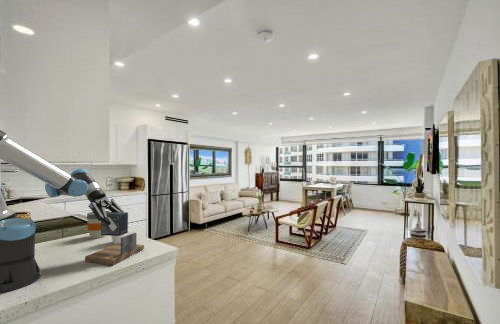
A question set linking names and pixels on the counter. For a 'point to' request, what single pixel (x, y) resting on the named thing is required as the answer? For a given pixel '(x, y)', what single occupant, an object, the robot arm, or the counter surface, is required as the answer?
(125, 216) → the small box
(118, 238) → the foam cup
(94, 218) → the reusable coffee cup
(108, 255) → the wooden base with plate
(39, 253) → the counter surface
